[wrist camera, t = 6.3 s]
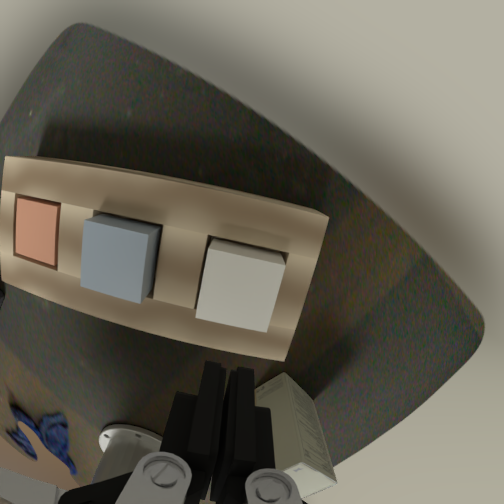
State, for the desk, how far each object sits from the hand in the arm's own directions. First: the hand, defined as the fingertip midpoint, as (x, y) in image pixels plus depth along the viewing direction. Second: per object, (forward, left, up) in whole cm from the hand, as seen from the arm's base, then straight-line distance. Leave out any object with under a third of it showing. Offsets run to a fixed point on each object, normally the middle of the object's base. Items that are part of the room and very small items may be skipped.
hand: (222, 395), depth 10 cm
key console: (0, +9, -17) cm, 19 cm away
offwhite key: (0, 0, -13) cm, 13 cm away
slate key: (0, +9, -13) cm, 16 cm away
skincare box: (-14, -8, -17) cm, 24 cm away
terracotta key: (0, +18, -15) cm, 23 cm away
